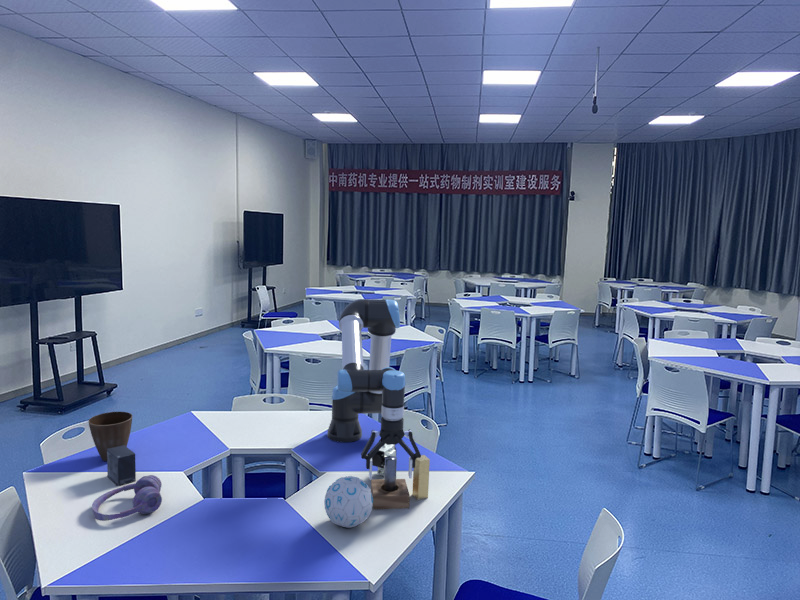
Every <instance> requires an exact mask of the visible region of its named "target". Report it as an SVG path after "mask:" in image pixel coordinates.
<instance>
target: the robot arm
mask: <svg viewBox="0 0 800 600" xmlns="http://www.w3.org/2000/svg"><path fill="white" fill-rule="evenodd" d="M338 327H339V330H340V331H341V352H342V354H341V355H342V356H341V357H342V359H341V360H342V361H341V362H342V369H339V370H338V371H337V381H336V382H337V383H336V386H334V387H333V389H332V395H331V400H332V402H331V403H332V404H331V420H330V423H329V426H328V429H327V435H326V436H327V438H328V439H329V440H330V441H333V442H336V443H351V442H356V441H359V440H360V439H362V436H363V429H362V426H361V424H360V420H359V415H360V414H361V415H362V414H365V415H366V414H380V415H381V419H380V430H379V431H378V430H377V431H376V430H375V429H372V430H371V433H370V437H369V439H368V440H367V442H366V444H365V446H364V448H363V449H362V451H361V453H360V457H361V459H362V460H363V459H364V460H365V468H366V469H367V470H368V479H369V480H373V465H372V457H373V456H374V455H375V454H376V453H377V451H378V450H379V449H380V448H381V447H382V446H384V445H385V444H387V445H391V444H393V445H395V446H396V445H400V447H402V449H404V451H405V452H406V453H407V454H408V455H409V457H408V473H407V475H408V478H409V479H413V469H414V468H415V460H416V458H420V457H421V455H422V454H421V452H420V450H419V448H418V446H417V443H416V442H415V439H414V437H413V432H412V431H413V430H412V429H408V430H405V431H404V415H405V394H406V393H405V391H406V390H405V388H406V375H405V373H404V372H403V371H400V370H396V369H395V368H393V367H391V366H390V361H391V348H392V347H391V345H392V336H394V335H395V333H397V332H396V330H397V329H400V327H401V317H400V309H399V304H398V301H396V300H394V299H387V298H386V299H373V298H372V299H370V298H367V299H366V298H359V299H355V300H353V301H351V302H350V303H348V304H347V305H346V306H345V307H344V308H343V310H342V311H341V313H340V314H339V319H338ZM363 328H365V329H366V328H367V332H368V333H369V334H370V344H369V345H370V347H369V362H368V363H369V366H368V369H365V368H364V367H365V366H364V355H363V352H364V350H363V341H362V340H363V339H362V338H363V336H362V330H363ZM405 436H406V438H407V439H409V441H410V444H411V445H412V448H413V450H414V452H413V450H412V449H411V448H410V447H409V445H407V444H406V443H405V441H404V440H403V438H404V437H405ZM378 437H380V438H379V440H378V441H377V443H376V444H375V445H374V446H373V444H374V442H375V439H377V438H378ZM372 446H373V447H372ZM371 447H372V448H371ZM370 449H371V450H370Z"/></svg>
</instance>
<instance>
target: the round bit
mask: <svg viewBox="0 0 800 600" xmlns="http://www.w3.org/2000/svg"><path fill="white" fill-rule="evenodd" d="M397 464H398V458H397V456H396V457H395V456H386V457H385V475H384V476H383V479H384V491H388V492H393V491H396V479H397V467H398V466H397Z"/></svg>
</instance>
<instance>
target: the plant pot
mask: <svg viewBox="0 0 800 600" xmlns="http://www.w3.org/2000/svg"><path fill="white" fill-rule="evenodd" d="M132 425H133V414H132V413H131V412H128V411H110V412H109V411H108V412H104V413H100V414H96V415H93V416H91V417H90V418H89V419H88V427H89V430H90V431H89V432H90V434H91V437H92V440H93V444H94V446H95V448H96V451H97V453H98V455H99V456H100V458H101V460H102V461H103V462H107V449H109V448H114V447H118V446H122V445H125V446H126V447H127V448H128V444H129V440H130V436H131V432H132V431H131V430H132Z"/></svg>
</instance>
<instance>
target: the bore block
mask: <svg viewBox="0 0 800 600" xmlns="http://www.w3.org/2000/svg"><path fill="white" fill-rule="evenodd" d="M370 490H371V493H372V497H373V505H372V510H391V509H392V510H394V509H396V510H397V509H401V510H402V509H410V491H409V489H408V486H407V481H406V478H396V491H393V492H388V491H384V478H383V479H382V478H381V479H380V478H379V479H377V478H376V479H370Z"/></svg>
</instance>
